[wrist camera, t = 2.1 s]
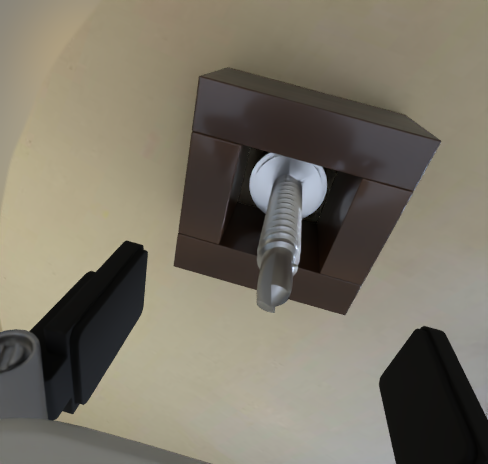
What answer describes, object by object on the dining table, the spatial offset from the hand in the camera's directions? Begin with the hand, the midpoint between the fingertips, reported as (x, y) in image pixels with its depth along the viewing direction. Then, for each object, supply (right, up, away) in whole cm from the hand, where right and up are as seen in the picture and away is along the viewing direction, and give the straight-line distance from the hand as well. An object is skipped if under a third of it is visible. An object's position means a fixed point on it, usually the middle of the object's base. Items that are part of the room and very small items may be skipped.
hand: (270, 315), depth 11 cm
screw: (+2, +7, +11) cm, 13 cm away
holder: (+2, +7, +11) cm, 13 cm away
